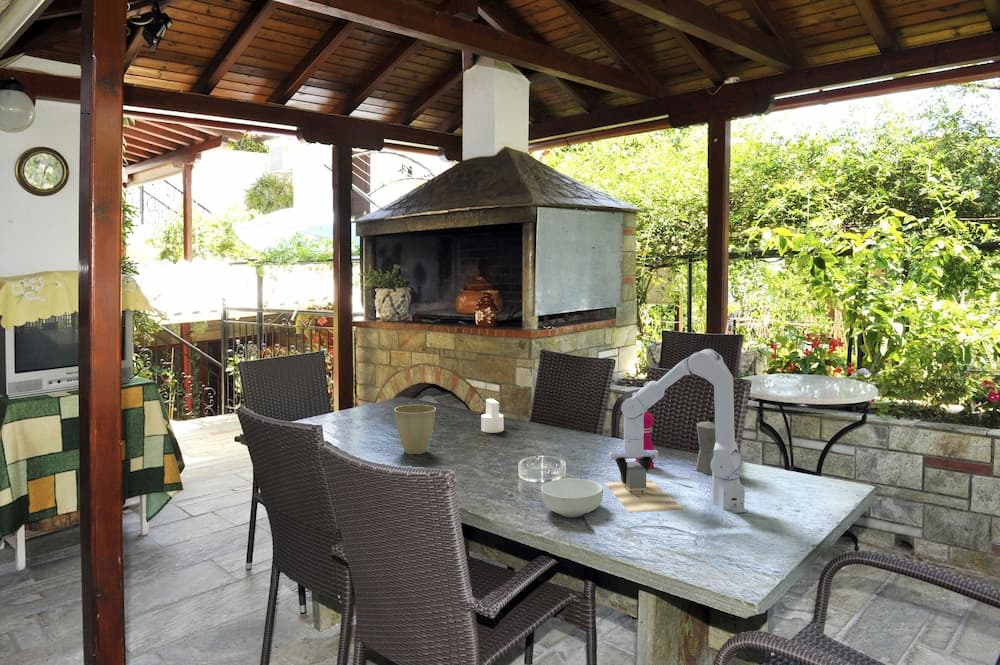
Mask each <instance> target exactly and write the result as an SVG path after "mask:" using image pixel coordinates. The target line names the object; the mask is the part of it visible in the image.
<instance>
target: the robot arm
mask: <svg viewBox="0 0 1000 665" xmlns="http://www.w3.org/2000/svg"><path fill="white" fill-rule="evenodd" d="M692 374H694V375H696V376H699V377H700V378H703V379H706V380H707V381H708V382H709V383H710V384H711V385H712V386H713V393H714V395H713V397H714V398H713V399H714V422H715V437H716V443H715V447H714V451H713V453H714V455H713V459H712V460H711V463H710V467H711V470H712V474H711V503H712V504H713V505H716V506H717V507H719V508H720V509H721V510H724V511H727V510H729V511H730V510H731V511H732V512H733V513H735V514H736V513H737V514H738V513H747V512H748V510H747V509H746V508H745V496H746V495H745V491H746V490H745V488H744V486H743V484H742V483H741V481H740V472H739V470H738V469H739V468H740V467H741V465H742V455H741V454H740V452H739V448H738V447H739V446H738V443H737V441H736V438H735V437H736V436H735V434H736V432H735V430H736V429H735V400H734V399H735V398H734V397H735V396H734V395H735V394H734V376H733V374H732V373H731V371H730V370H729V368H728V366H727V365H726V363H725V361H724V359H723V356H722V355H721V354H720V353H718V352H716V351H715V350H714V349H712V348H705V349H702V350H700V351H697V352H694V353H693V354H691V355H690V356H687V357H686V358H684V359H682V360H681V361H680V362H677V364H676V365H675V366H674V367H672V368H671V369H670V370H669V371H668V372H666V373H665V374H664V375H663V376H662V377H661V378H660V379H659V380H657V381H656V380H650V381H646V382H644V383H643V384H642V385H643V386H642V387H641V388H640V389H639V390H638V391H637V392H636V391H634V392H632V394H631V395H632V397H628V398H626V399H625V400H624V401H623V402H622V404H621V406H620V410H621V412H622V415H623V420H624V421H623V450H617V451H608V459H609V460H610V461H614V460H615V461H614V462H616V465H617V467H618V470H619V473H620V478H621V477H622V482H623V483H624V484H626V471H627V464H628V463H627V462H628V461H627V459H628V460H630V459H632V460H633V459H635V458H639V463H640V465H641V466H642V467H644V468H645V469H646V474H647V473H648V470H650V469H649V467H650V465H651V464H652V461H653V460H651V458H654V459H659V451H658V450H657V449H654V450H643V440H644V438H643V437H644V413H645V412H646V410H648V409H649V408H651V407H652V406H653V405H655V404H656V403H657V402H658V401H660V400H661V399H662V398H664V397H665V391H666V389H667V388H669V387H670V386H672V385H673V384H674V383H675V382H677V381H679V380H680V379H681V378H683V377H684V376H688V375H689V376H690V375H692Z"/></svg>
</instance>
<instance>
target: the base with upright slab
mask: <svg viewBox="0 0 1000 665" xmlns="http://www.w3.org/2000/svg"><path fill="white" fill-rule="evenodd" d="M480 419H481V421H480V422H481V424H480V425H481V426H480V427H481V428H480V429H481V432H483V433H490V434H491V433H493V434H494V433H496V434H497V433H501V432H503V431H504V429H505V427H504V421H505V420H504V414H502V413H500V402H499V401H497V400H496V399H494V398H486V399H485V413H484V414H481V416H480Z"/></svg>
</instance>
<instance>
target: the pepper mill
mask: <svg viewBox="0 0 1000 665" xmlns="http://www.w3.org/2000/svg"><path fill="white" fill-rule="evenodd" d="M654 422H655V418H654V416H653V414H652V413H650V412H648V409H647V410H646V412H645V413H644V437H643V438H644V440H643V450H655V448H654V445H653V441H652V432H653V427H652V426H653V425H654ZM634 459H635V460H634V462H638V463H639V458H634ZM654 459H655V458H651V460H652V464H651V465H650V467H649V469H648V470H653V469H654V467H655V464H654V461H653V460H654ZM639 464H640V463H639Z"/></svg>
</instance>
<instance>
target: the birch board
mask: <svg viewBox="0 0 1000 665" xmlns="http://www.w3.org/2000/svg"><path fill="white" fill-rule="evenodd" d="M604 485H605V486H607V488H608V489H609V490H610V491H611V493H612V494H613V495H614V496H615V497H616V498H617V500H618V501H619V502H620V503H621V504H622V505H623V506H624V508H625V509H626V510H627V511H628V512H629V513H648V512H649V513H651V512H653V513H654V512H668V511H669V512H671V511H684V508H682V506H681V505H679V504H678V503H677V502H676V501H675V500H674V499H673V498H672V497H671V496H670V495H668V493H666V491H664V490H663V489H662V488H661V487H660V486H659V485H657V483H656V482H654V481H653V480H646V490H638V491H629V490H628V489H627V488H626V487H625V486H624V484H623V483H622V482H621V481H611V482H604Z"/></svg>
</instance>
